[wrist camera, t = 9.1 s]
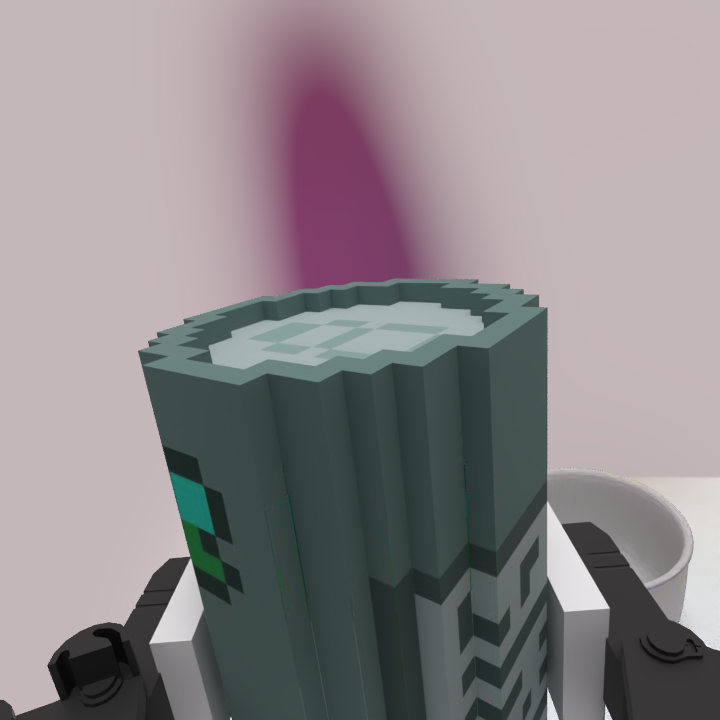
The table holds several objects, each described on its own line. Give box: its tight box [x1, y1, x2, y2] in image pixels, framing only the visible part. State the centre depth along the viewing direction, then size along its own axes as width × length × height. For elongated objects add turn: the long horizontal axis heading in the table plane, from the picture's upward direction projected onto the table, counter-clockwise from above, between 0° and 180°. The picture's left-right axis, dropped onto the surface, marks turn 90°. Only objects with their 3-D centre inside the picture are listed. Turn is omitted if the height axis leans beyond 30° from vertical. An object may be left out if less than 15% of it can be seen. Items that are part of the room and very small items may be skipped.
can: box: [138, 279, 547, 720], centre depth 11 cm, size 6×6×15 cm
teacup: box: [547, 468, 694, 623], centre depth 32 cm, size 14×11×8 cm
